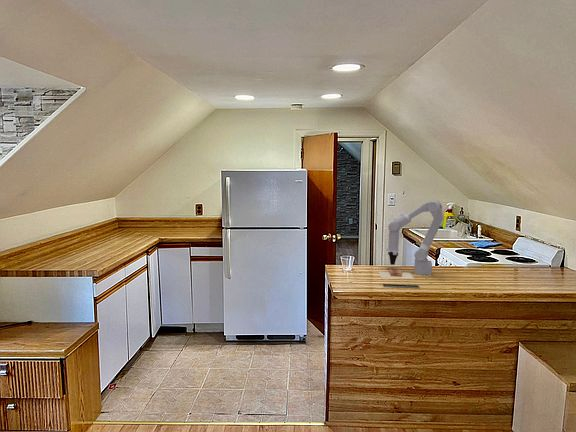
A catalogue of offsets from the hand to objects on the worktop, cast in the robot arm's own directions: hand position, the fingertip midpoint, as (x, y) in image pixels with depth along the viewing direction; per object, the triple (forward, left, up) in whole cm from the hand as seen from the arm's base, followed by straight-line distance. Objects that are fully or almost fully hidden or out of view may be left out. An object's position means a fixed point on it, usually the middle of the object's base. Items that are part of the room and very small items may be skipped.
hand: (392, 264), depth 248 cm
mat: (0, +26, -4) cm, 26 cm away
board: (0, +13, -4) cm, 13 cm away
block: (0, +12, -3) cm, 12 cm away
